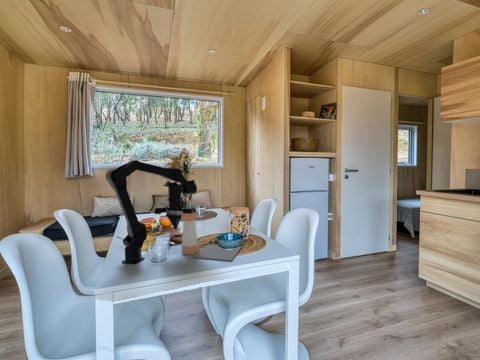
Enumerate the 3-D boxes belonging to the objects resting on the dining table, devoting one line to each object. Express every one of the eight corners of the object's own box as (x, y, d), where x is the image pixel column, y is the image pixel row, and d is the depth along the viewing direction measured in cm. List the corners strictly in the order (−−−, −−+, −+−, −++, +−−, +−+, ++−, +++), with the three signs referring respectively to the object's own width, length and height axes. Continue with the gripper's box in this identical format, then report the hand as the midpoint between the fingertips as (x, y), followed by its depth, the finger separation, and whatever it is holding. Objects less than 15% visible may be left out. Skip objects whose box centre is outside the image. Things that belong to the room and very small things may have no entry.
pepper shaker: (185, 255, 114) (185, 213, 111) (179, 250, 120) (178, 210, 117) (200, 251, 119) (200, 211, 116) (193, 246, 124) (192, 207, 121)
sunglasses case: (186, 243, 131) (179, 232, 130) (174, 251, 130) (167, 240, 129) (185, 234, 149) (179, 224, 148) (174, 241, 148) (168, 231, 146)
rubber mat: (231, 261, 107) (231, 260, 107) (193, 257, 111) (193, 256, 111) (241, 247, 125) (241, 246, 124) (208, 245, 129) (208, 244, 129)
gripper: (200, 193, 125) (201, 225, 126) (165, 193, 130) (166, 224, 131) (190, 197, 114) (191, 231, 115) (153, 196, 119) (154, 229, 120)
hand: (175, 228), depth 121 cm, fingers closed
